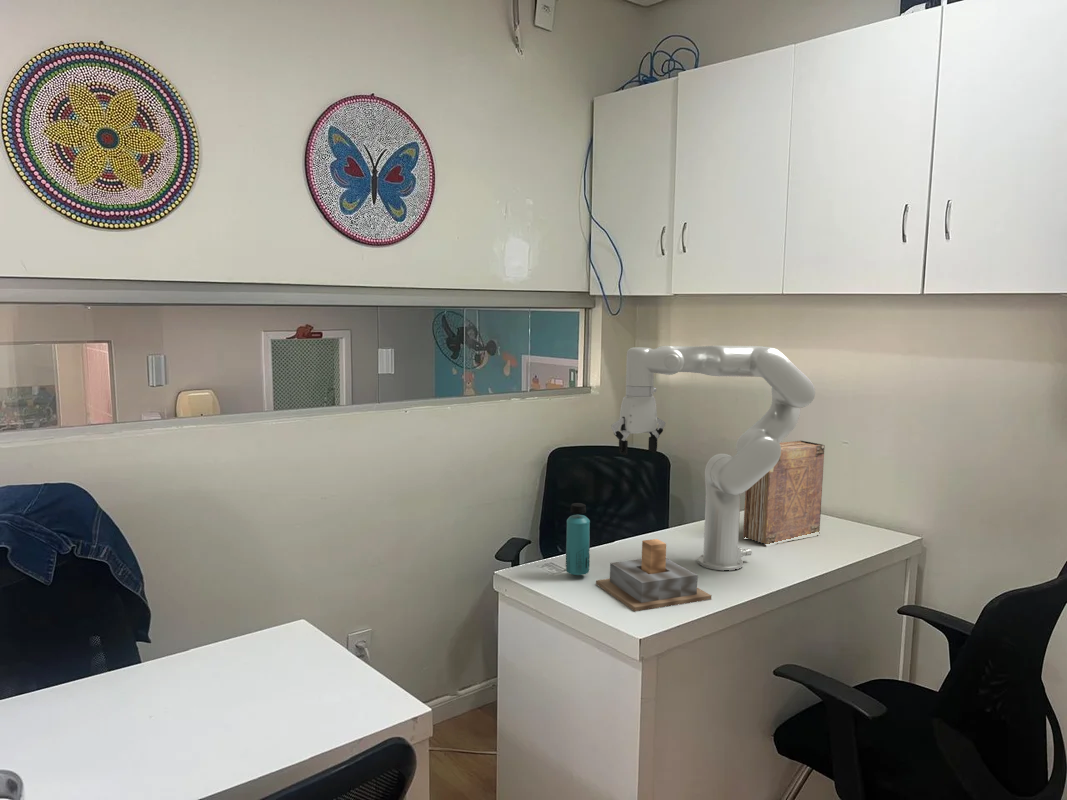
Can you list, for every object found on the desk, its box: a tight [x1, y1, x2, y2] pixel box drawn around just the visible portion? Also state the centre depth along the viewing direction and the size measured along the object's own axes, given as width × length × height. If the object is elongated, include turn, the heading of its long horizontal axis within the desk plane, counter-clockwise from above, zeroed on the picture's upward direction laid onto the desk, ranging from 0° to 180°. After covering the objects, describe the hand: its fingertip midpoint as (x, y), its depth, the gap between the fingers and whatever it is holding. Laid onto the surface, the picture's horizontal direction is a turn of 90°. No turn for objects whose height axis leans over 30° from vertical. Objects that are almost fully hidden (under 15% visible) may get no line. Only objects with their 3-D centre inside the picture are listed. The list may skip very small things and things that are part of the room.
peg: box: [641, 538, 667, 574], centre depth 198 cm, size 4×4×12 cm
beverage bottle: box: [565, 502, 591, 576], centre depth 208 cm, size 6×7×20 cm
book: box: [742, 440, 826, 545], centre depth 248 cm, size 25×9×30 cm, turn 122°
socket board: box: [595, 557, 712, 612], centre depth 199 cm, size 22×20×6 cm
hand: (638, 453), depth 217 cm, fingers open, 9 cm apart
